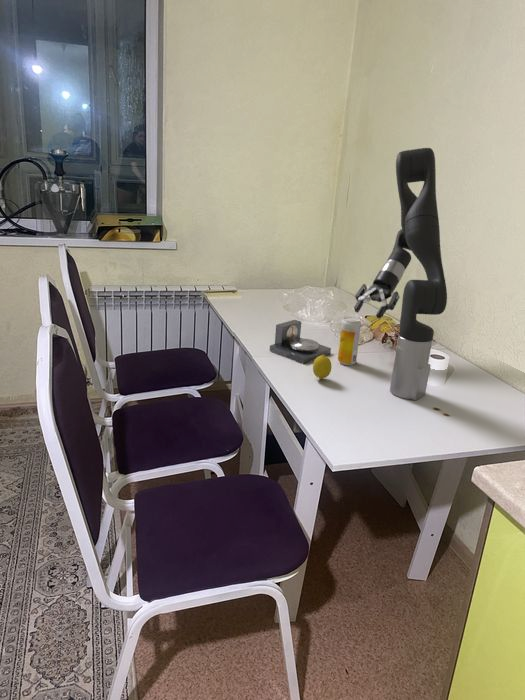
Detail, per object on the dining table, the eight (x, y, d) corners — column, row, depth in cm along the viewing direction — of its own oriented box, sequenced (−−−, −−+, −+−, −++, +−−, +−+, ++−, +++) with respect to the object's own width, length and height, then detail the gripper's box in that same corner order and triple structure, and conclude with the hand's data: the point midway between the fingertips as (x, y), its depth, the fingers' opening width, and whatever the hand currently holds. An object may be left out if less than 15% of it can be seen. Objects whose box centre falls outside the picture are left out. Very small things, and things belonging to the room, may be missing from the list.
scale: (330, 353, 171) (333, 328, 168) (303, 363, 161) (305, 337, 158) (297, 341, 181) (299, 318, 177) (269, 350, 170) (271, 326, 167)
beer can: (343, 357, 168) (348, 315, 163) (359, 362, 164) (364, 319, 159) (334, 362, 163) (339, 319, 158) (350, 367, 160) (355, 323, 155)
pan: (324, 346, 169) (324, 344, 169) (306, 353, 162) (306, 350, 162) (302, 339, 175) (302, 336, 175) (283, 345, 168) (283, 342, 168)
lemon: (329, 384, 147) (332, 359, 144) (310, 381, 148) (313, 356, 145) (330, 377, 152) (333, 352, 149) (312, 374, 153) (315, 350, 150)
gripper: (368, 265, 170) (345, 303, 166) (405, 273, 161) (382, 312, 157) (374, 279, 176) (352, 315, 172) (410, 287, 167) (388, 325, 163)
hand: (366, 314), depth 164 cm, fingers open, 8 cm apart
